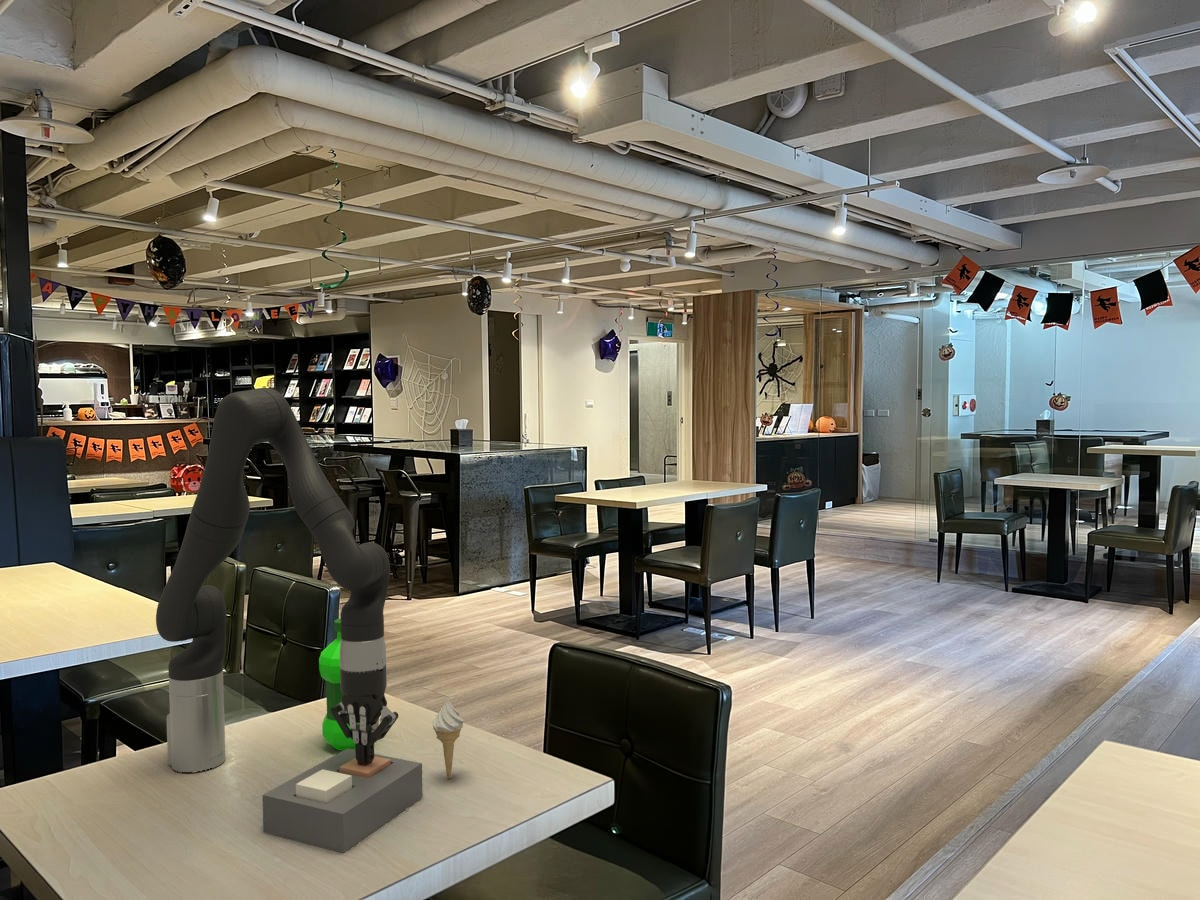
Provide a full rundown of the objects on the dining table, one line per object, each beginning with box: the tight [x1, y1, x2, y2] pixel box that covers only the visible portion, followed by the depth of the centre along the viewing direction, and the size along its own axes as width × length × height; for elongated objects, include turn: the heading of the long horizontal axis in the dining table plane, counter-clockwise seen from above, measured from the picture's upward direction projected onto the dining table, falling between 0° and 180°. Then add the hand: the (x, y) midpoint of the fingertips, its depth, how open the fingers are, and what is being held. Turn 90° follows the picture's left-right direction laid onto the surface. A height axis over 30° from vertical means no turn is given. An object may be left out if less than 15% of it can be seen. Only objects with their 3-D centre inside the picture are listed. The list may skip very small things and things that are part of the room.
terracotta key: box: [339, 756, 391, 778], centre depth 148 cm, size 6×6×3 cm
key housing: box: [261, 748, 423, 854], centre depth 144 cm, size 16×20×6 cm
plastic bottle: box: [318, 618, 355, 752], centre depth 172 cm, size 10×10×25 cm
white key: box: [296, 769, 352, 804], centre depth 139 cm, size 6×6×3 cm
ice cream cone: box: [431, 696, 464, 780], centre depth 157 cm, size 6×6×15 cm
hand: (365, 763), depth 148 cm, fingers closed
